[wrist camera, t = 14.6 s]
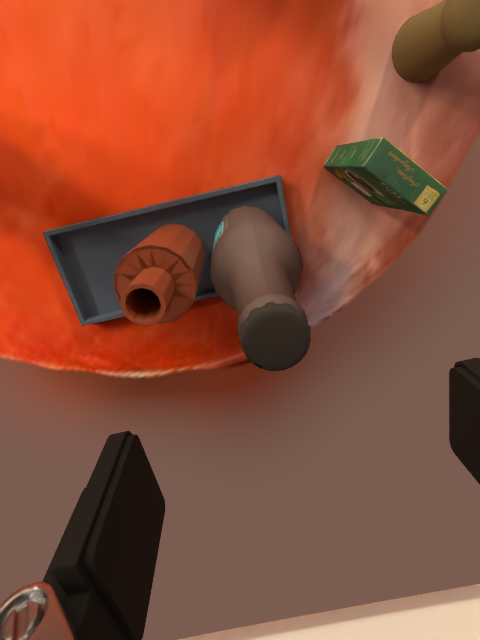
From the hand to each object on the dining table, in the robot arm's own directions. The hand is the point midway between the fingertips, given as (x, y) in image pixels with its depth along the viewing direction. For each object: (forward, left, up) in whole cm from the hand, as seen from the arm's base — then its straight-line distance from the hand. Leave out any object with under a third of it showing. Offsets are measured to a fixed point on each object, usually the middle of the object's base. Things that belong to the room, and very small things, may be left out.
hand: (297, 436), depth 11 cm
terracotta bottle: (-9, 0, -37) cm, 38 cm away
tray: (-9, 0, -37) cm, 38 cm away
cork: (+22, +15, -37) cm, 46 cm away
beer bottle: (0, 0, -37) cm, 37 cm away
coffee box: (+14, +4, -37) cm, 40 cm away
